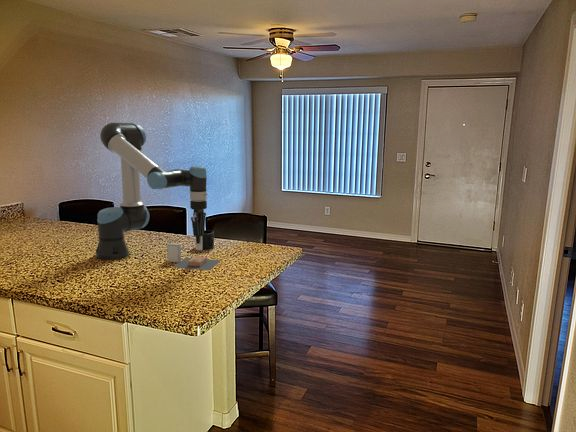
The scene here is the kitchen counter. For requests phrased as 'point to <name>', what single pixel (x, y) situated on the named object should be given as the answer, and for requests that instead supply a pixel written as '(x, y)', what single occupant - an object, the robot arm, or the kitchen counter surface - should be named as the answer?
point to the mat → (206, 266)
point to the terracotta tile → (197, 261)
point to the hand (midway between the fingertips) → (199, 249)
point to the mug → (208, 240)
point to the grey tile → (174, 252)
